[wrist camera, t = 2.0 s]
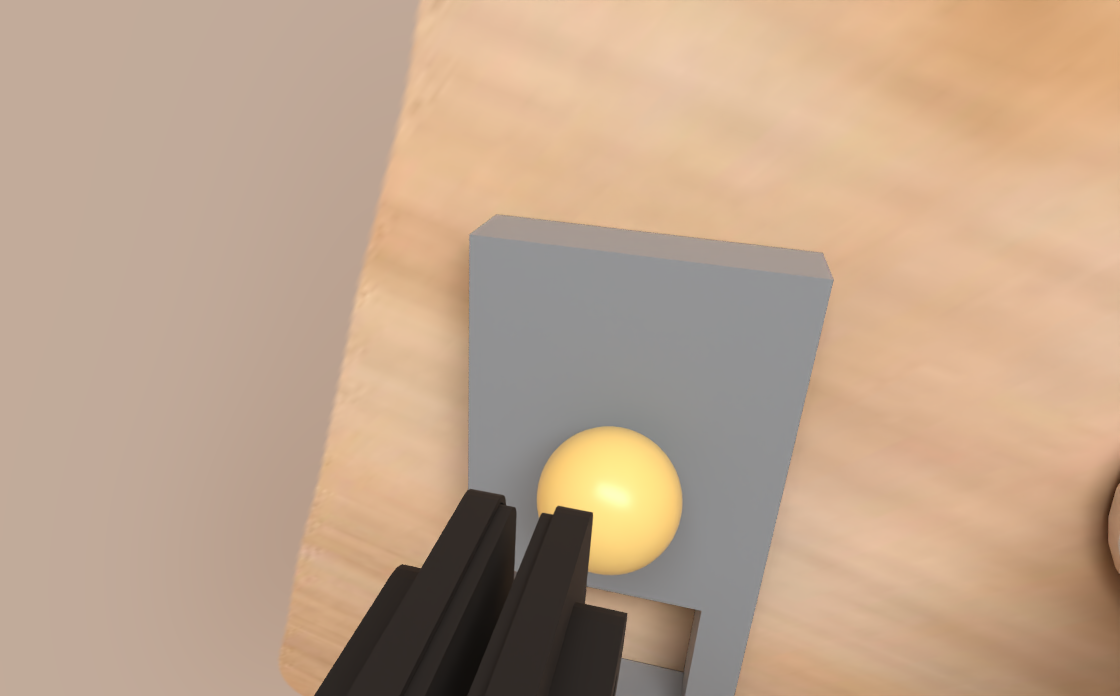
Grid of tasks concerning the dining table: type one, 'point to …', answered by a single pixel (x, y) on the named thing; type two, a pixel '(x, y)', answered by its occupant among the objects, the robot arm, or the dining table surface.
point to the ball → (615, 495)
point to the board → (649, 399)
